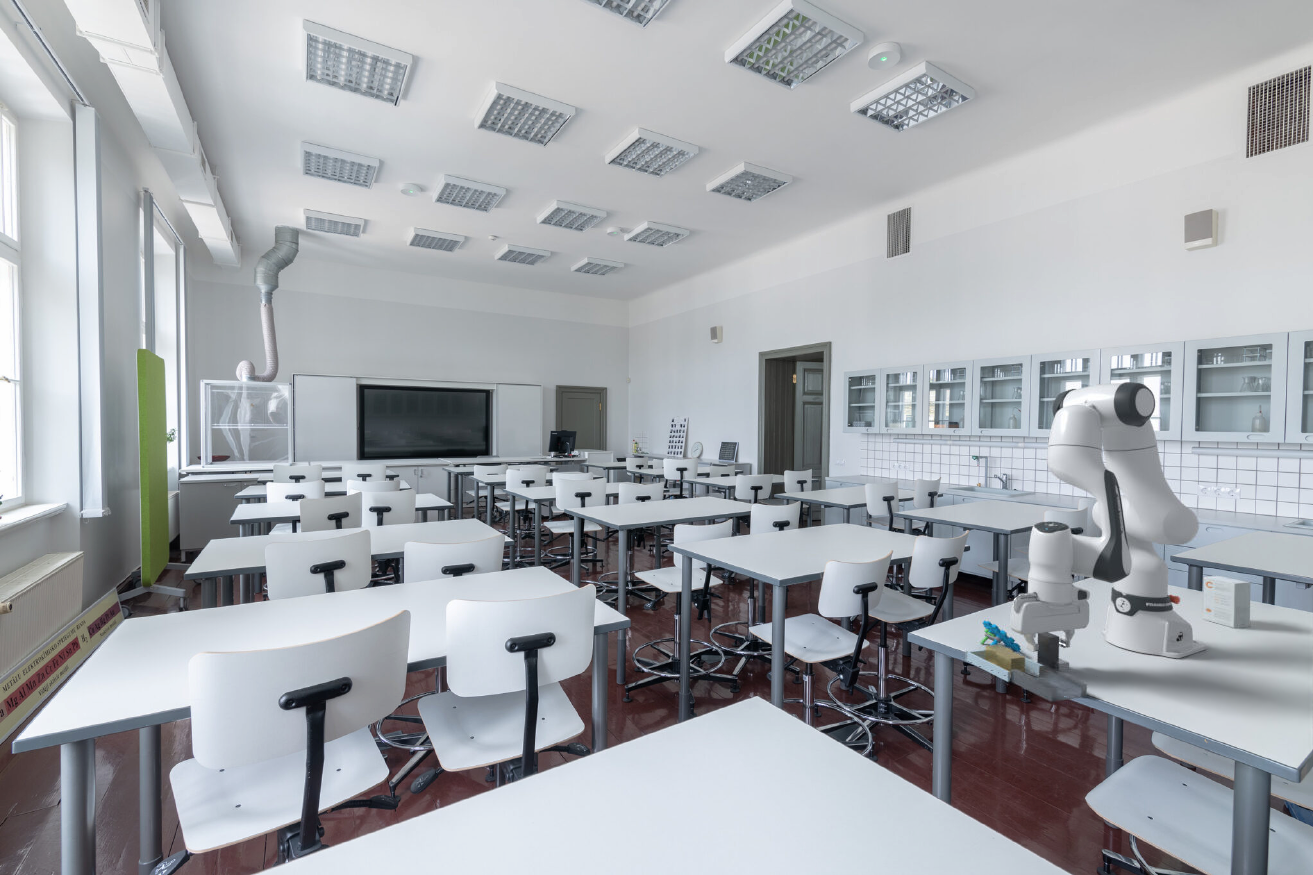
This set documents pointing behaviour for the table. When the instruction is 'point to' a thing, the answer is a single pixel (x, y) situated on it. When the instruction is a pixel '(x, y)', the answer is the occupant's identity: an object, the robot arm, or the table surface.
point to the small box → (1226, 601)
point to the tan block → (994, 652)
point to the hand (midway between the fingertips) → (1048, 648)
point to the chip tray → (978, 660)
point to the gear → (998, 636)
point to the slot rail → (1050, 684)
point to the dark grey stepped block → (1050, 652)
